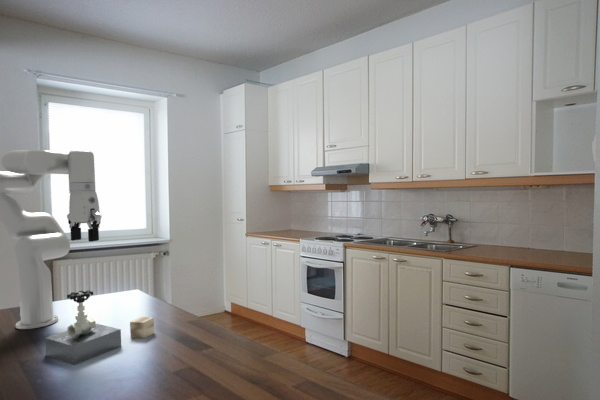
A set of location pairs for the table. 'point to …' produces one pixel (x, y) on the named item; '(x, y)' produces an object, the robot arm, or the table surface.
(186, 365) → the table surface
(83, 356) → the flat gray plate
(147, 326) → the pale wood block
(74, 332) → the valve
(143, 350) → the table surface
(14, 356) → the table surface
